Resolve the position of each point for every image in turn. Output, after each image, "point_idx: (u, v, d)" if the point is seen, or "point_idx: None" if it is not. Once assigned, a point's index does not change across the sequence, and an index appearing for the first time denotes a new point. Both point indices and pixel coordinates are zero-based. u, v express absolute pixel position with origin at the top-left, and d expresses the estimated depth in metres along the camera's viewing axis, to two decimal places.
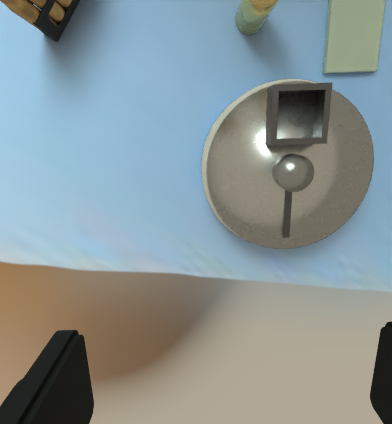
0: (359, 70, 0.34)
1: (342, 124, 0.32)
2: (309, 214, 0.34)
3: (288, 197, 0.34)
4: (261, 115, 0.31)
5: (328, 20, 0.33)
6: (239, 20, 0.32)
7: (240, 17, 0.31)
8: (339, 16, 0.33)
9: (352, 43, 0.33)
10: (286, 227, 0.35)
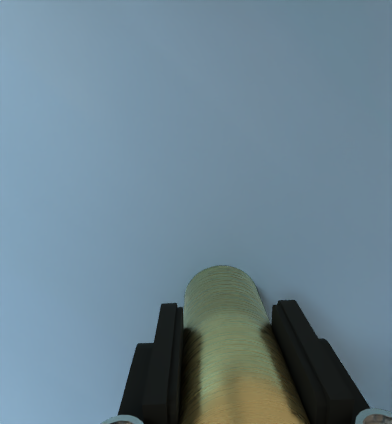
0: None
1: None
2: None
3: None
4: None
5: None
6: None
7: None
8: None
9: None
10: None
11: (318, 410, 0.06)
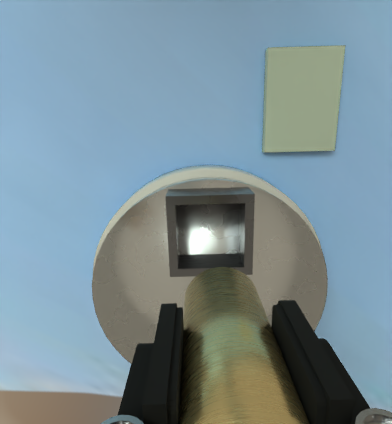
0: (311, 150, 0.25)
1: (281, 236, 0.22)
2: None
3: None
4: (163, 225, 0.22)
5: (265, 83, 0.24)
6: None
7: None
8: (279, 79, 0.23)
9: (299, 115, 0.24)
10: None
11: (318, 410, 0.06)
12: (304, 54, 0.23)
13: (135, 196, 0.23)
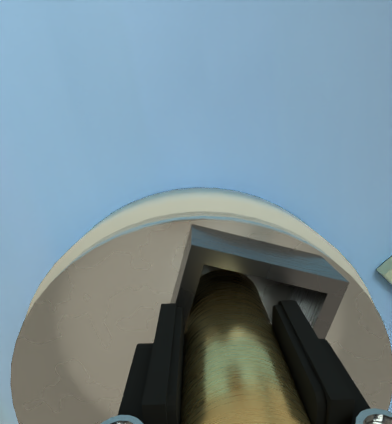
0: None
1: (342, 342, 0.14)
2: None
3: None
4: (164, 278, 0.13)
5: None
6: None
7: None
8: None
9: None
10: None
11: (319, 410, 0.06)
12: None
13: (230, 204, 0.14)
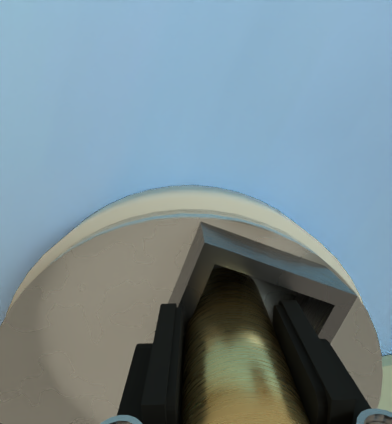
0: None
1: None
2: None
3: None
4: (166, 275, 0.12)
5: None
6: None
7: None
8: None
9: None
10: None
11: (319, 410, 0.06)
12: None
13: (323, 249, 0.14)
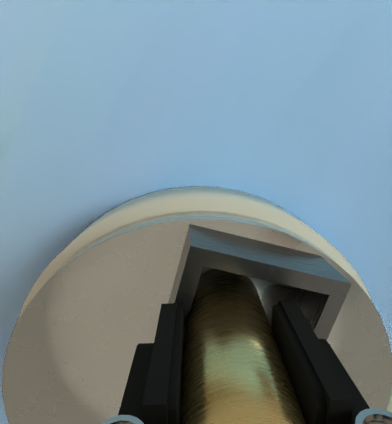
0: None
1: (342, 343, 0.14)
2: None
3: None
4: (162, 279, 0.12)
5: None
6: None
7: None
8: None
9: None
10: None
11: (318, 410, 0.06)
12: None
13: (357, 278, 0.15)
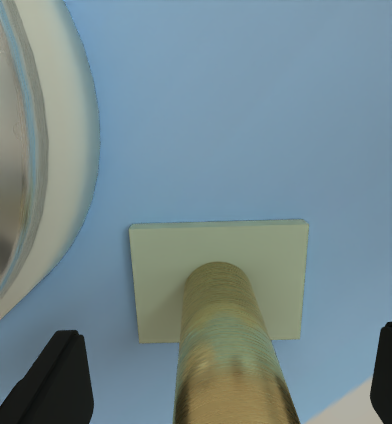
0: (138, 307, 0.14)
1: None
2: None
3: None
4: None
5: (250, 222, 0.13)
6: None
7: None
8: (257, 247, 0.13)
9: None
10: None
11: None
12: (292, 283, 0.14)
13: None
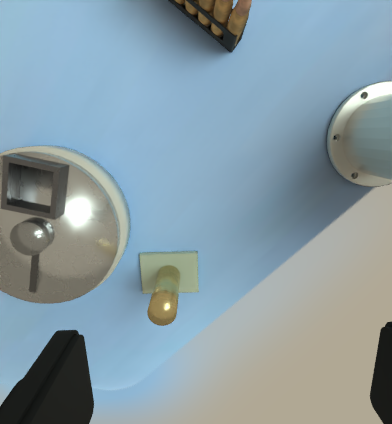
0: (142, 280, 0.41)
1: (88, 203, 0.34)
2: (55, 276, 0.36)
3: (34, 256, 0.35)
4: None
5: (179, 252, 0.40)
6: None
7: None
8: (181, 260, 0.40)
9: None
10: (33, 282, 0.36)
11: None
12: (194, 272, 0.41)
13: (103, 181, 0.35)
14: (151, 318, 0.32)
